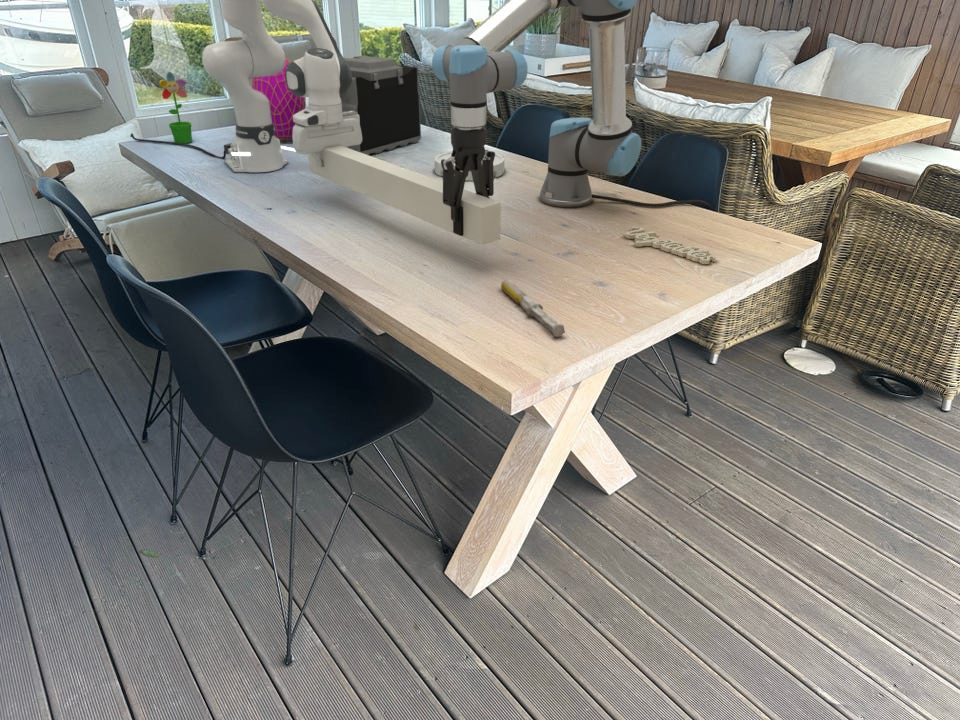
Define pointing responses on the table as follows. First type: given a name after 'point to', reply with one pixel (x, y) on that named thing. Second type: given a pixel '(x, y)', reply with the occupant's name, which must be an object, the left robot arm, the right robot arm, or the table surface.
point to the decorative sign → (669, 245)
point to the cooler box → (383, 103)
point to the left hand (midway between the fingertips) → (330, 164)
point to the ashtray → (497, 171)
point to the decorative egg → (280, 102)
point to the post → (408, 192)
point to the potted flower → (178, 129)
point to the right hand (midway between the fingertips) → (468, 230)
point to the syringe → (532, 308)
